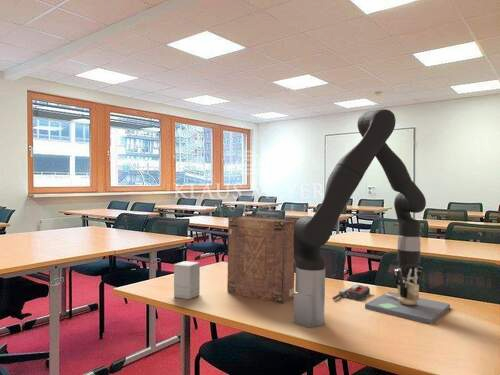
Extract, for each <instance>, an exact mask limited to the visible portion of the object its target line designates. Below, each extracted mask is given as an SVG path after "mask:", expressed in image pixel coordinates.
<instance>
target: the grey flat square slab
mask: <svg viewBox="0 0 500 375" xmlns="http://www.w3.org/2000/svg"><path fill="white" fill-rule="evenodd" d="M385 294H389V295H392V296H395V297H398V298H399V296H398V292H393V291H387V292H385V293H384V294H382V295H379V296H377V297H375V298H374V299H372V300H370V301H368V302H367V303H365V304H364V309H367V310H370V311H374V312H379V313H382V314H388V315H390V316H396V317H399V318H403V319H406V320H407V319H408V320H412V321H414V322H420V323H424V324H428V325H432V324H434V323H435V322H436V321H437V320H438V319H440V318H441V317H442V316H443V315H444V314H445V313H446V312H447V311H449V309H451V303H448V302H442V301H438V300H433V299H428V298H423V297H419V301H417V305H413V306H411V305H404V304H401V303H399V300H397V299H394V298H391V297H388V296H385Z"/></svg>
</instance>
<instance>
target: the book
mask: <svg viewBox="0 0 500 375" xmlns="http://www.w3.org/2000/svg"><path fill="white" fill-rule="evenodd" d="M227 223H228V224H227V225H228V229H227V286H226V288H227V290H226V291H227V293H231V294H235V295H239V296H244V297H250V298H255V299H259V300H263V301H269V302H273V303H278V304H284V303H285V302H288V301H290V300H292V299H294V293H295V266H296V261H295V258H294V245H293V232H294V226H295V224H296V220H295V219H290V218H289V219H288V218H287V219H285V218H274V217H264V216H263V217H262V216H261V217H260V216H249V215H247V216H245V215H242V216H240V217H232V216H231V217H228V221H227Z"/></svg>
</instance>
